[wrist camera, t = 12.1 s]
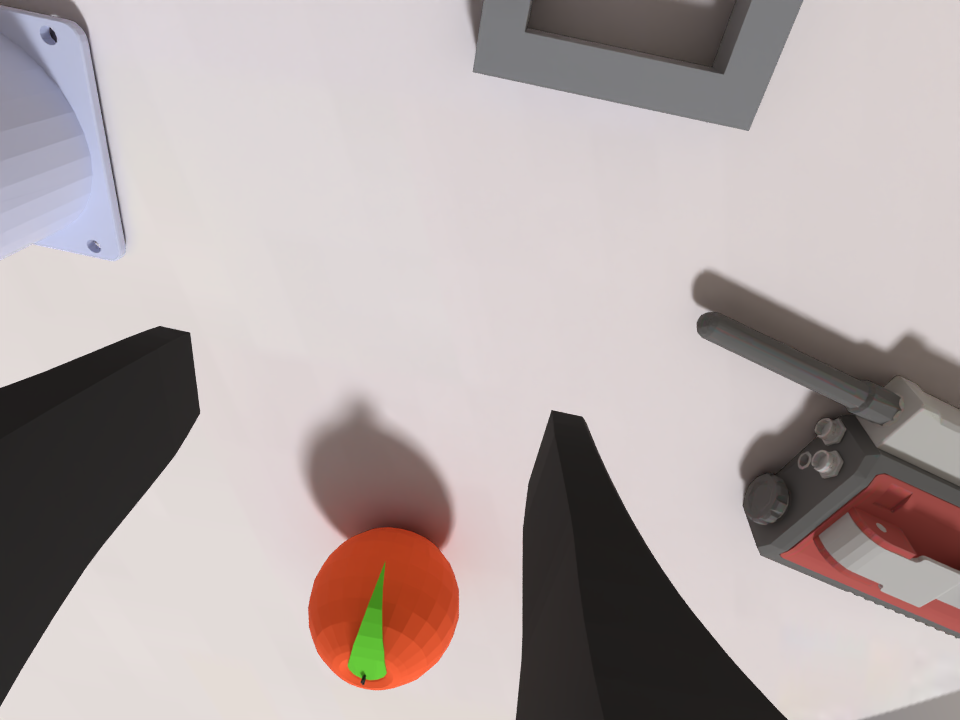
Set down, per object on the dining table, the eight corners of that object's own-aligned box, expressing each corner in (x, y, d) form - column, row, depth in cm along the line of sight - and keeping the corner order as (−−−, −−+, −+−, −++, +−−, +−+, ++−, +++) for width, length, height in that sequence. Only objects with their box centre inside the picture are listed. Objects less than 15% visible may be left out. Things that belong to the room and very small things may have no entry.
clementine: (336, 469, 28) (274, 603, 22) (480, 496, 27) (457, 638, 22) (336, 572, 32) (285, 707, 26) (460, 596, 32) (437, 737, 26)
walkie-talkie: (1137, 487, 23) (710, 277, 21) (1245, 583, 20) (742, 342, 17) (952, 601, 28) (585, 442, 25) (1011, 694, 24) (589, 520, 22)
